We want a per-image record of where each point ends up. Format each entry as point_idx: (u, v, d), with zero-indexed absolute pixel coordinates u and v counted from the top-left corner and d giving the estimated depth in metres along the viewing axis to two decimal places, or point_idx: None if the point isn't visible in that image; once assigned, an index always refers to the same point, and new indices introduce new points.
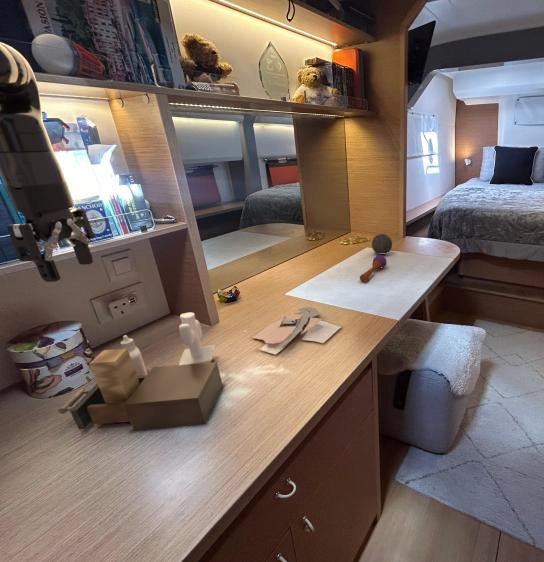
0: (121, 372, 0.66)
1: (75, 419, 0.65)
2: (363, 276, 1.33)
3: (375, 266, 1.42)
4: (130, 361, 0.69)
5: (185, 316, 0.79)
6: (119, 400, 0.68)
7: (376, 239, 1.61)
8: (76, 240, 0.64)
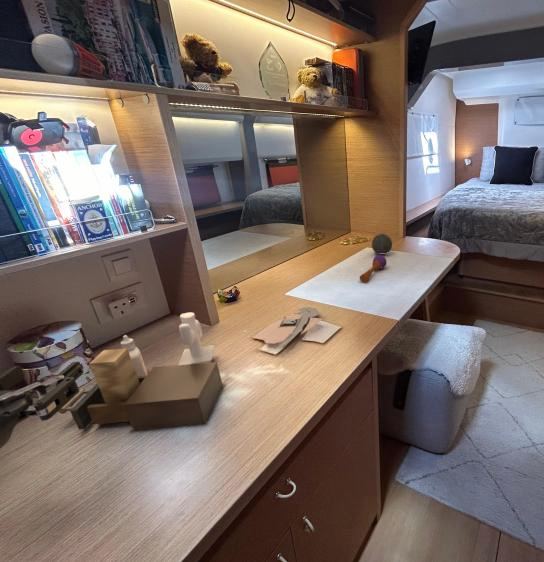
0: (121, 372, 0.66)
1: (75, 419, 0.65)
2: (363, 276, 1.33)
3: (375, 266, 1.42)
4: (130, 361, 0.69)
5: (185, 316, 0.79)
6: (119, 400, 0.68)
7: (376, 239, 1.61)
8: (55, 384, 0.49)
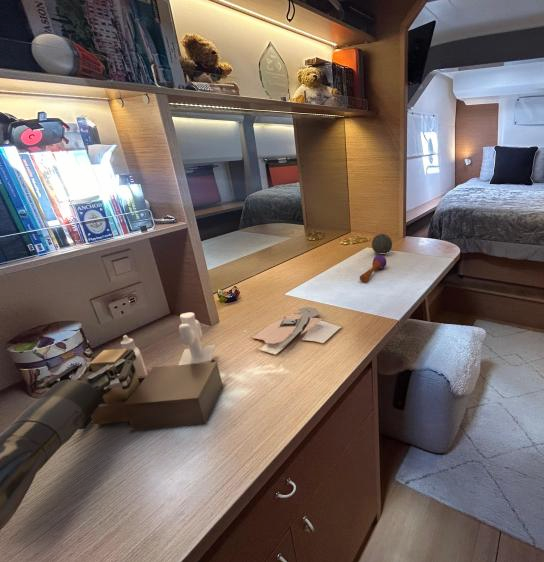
0: None
1: None
2: (363, 276, 1.33)
3: (375, 266, 1.42)
4: None
5: (185, 316, 0.79)
6: (119, 400, 0.68)
7: (376, 239, 1.61)
8: (119, 366, 0.65)
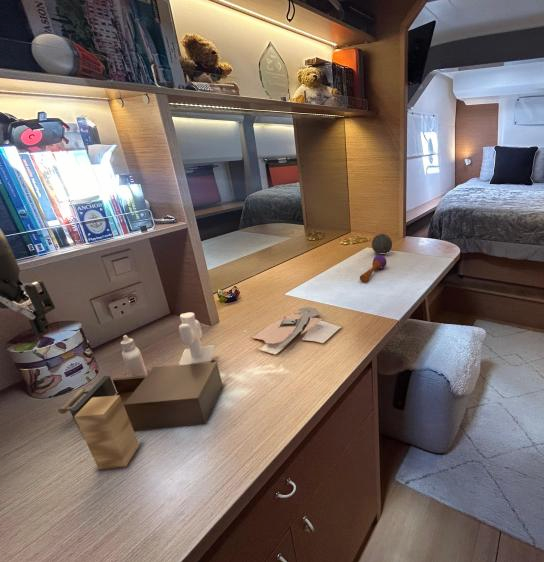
0: (112, 425, 0.57)
1: None
2: (363, 276, 1.33)
3: (375, 266, 1.42)
4: (123, 409, 0.60)
5: (185, 316, 0.79)
6: (110, 456, 0.58)
7: (376, 239, 1.61)
8: None
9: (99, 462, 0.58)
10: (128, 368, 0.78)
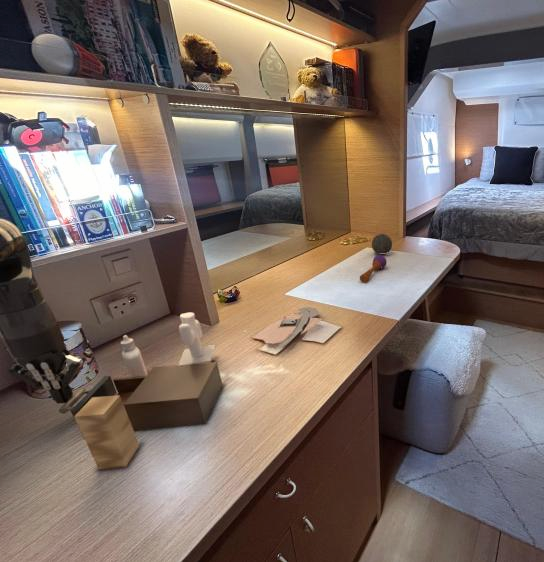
0: (112, 425, 0.57)
1: None
2: (363, 276, 1.33)
3: (375, 266, 1.42)
4: (123, 409, 0.60)
5: (185, 316, 0.79)
6: (110, 456, 0.58)
7: (376, 239, 1.61)
8: (60, 379, 0.68)
9: (99, 462, 0.58)
10: (128, 368, 0.78)
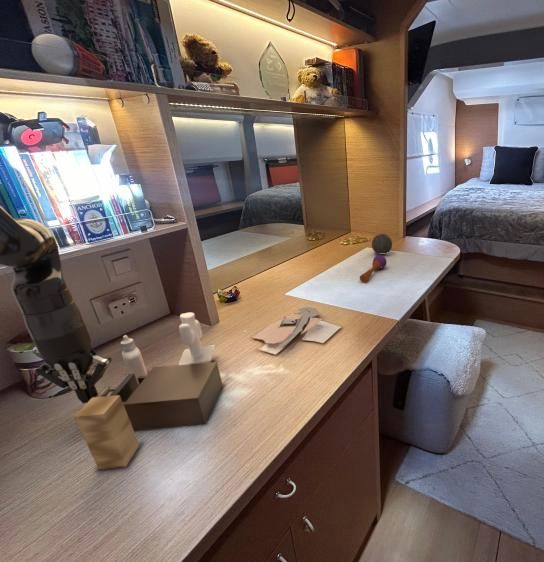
0: (112, 425, 0.57)
1: None
2: (363, 276, 1.33)
3: (375, 266, 1.42)
4: (123, 409, 0.60)
5: (185, 316, 0.79)
6: (110, 456, 0.58)
7: (376, 239, 1.61)
8: (86, 379, 0.68)
9: (99, 462, 0.58)
10: (128, 368, 0.78)
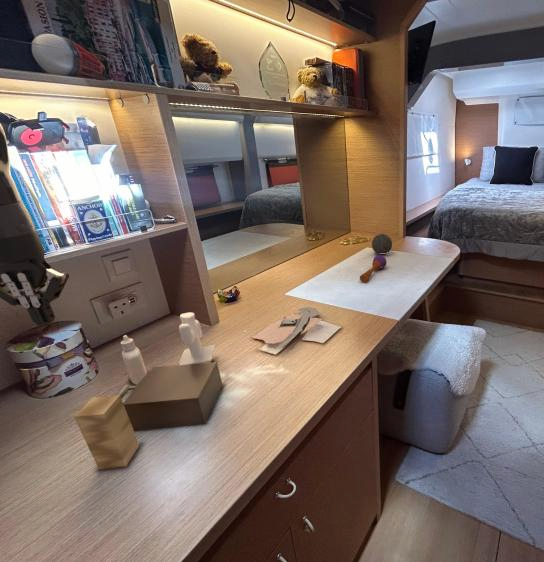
0: (112, 425, 0.57)
1: None
2: (363, 276, 1.33)
3: (375, 266, 1.42)
4: (123, 409, 0.60)
5: (185, 316, 0.79)
6: (110, 456, 0.58)
7: (376, 239, 1.61)
8: (40, 298, 0.61)
9: (99, 462, 0.58)
10: (128, 368, 0.78)
